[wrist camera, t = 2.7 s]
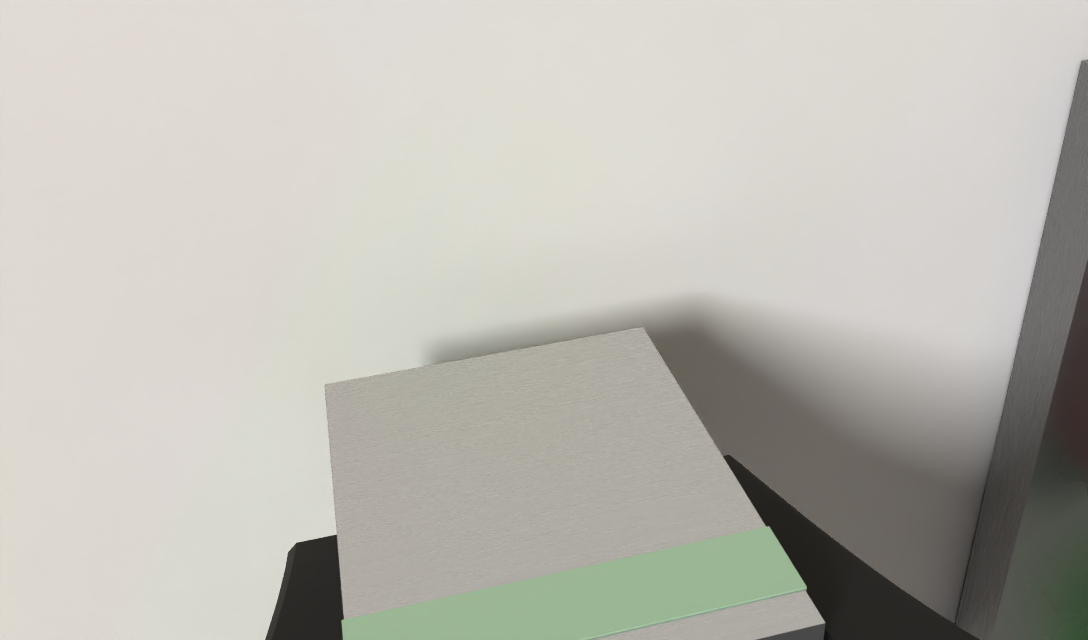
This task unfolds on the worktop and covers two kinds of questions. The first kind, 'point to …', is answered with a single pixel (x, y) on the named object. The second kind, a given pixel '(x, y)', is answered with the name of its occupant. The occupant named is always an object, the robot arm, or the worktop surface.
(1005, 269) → the worktop surface
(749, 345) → the worktop surface
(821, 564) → the robot arm
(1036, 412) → the dark grey rectangular tray
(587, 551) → the green-striped metal cube
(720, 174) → the worktop surface
